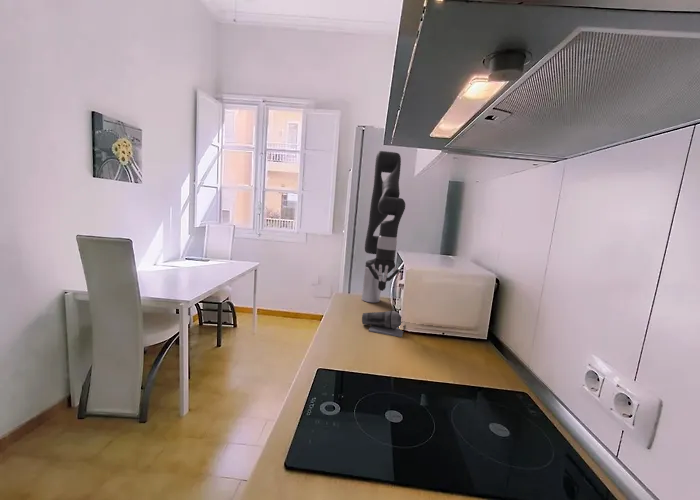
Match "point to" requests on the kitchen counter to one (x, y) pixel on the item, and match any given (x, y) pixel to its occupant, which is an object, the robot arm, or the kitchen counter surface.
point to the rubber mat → (386, 331)
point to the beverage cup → (382, 319)
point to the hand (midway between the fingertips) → (381, 290)
